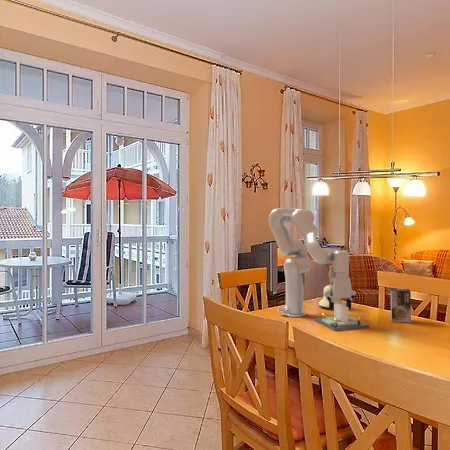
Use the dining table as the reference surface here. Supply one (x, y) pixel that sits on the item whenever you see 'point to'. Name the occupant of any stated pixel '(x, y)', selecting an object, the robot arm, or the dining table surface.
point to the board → (332, 321)
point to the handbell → (324, 301)
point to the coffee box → (400, 305)
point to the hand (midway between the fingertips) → (340, 308)
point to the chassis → (339, 328)
